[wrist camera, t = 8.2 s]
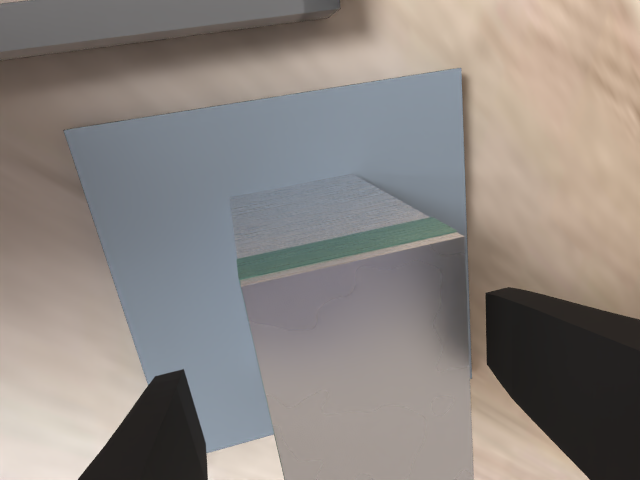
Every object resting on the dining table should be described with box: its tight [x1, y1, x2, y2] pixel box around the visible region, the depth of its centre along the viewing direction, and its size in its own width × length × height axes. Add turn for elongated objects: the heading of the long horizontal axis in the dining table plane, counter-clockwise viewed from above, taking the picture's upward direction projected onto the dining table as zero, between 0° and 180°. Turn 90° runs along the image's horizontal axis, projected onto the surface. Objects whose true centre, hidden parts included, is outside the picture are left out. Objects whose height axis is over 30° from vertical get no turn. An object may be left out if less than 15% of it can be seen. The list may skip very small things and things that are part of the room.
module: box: [229, 174, 474, 480], centre depth 12 cm, size 4×6×7 cm, turn 9°
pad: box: [64, 68, 472, 453], centre depth 15 cm, size 12×12×1 cm
